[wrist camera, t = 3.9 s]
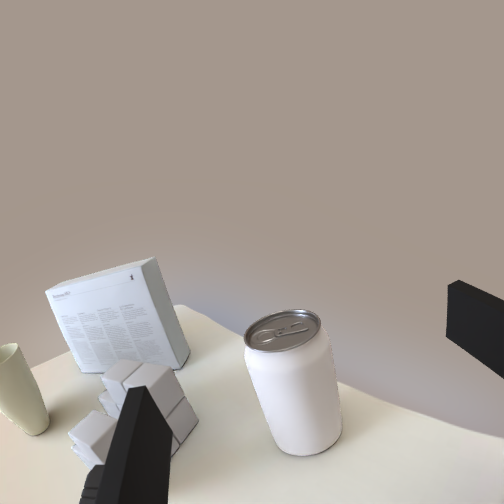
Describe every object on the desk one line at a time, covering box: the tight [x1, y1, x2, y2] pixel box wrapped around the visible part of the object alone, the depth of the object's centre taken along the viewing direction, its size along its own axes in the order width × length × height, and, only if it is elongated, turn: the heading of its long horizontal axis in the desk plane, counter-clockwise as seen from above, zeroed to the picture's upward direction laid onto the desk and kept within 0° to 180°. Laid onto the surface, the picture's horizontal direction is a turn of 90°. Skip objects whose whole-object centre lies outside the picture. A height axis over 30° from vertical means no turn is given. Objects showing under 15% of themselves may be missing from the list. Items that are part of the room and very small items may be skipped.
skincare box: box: [45, 257, 190, 373], centre depth 42 cm, size 21×5×16 cm, turn 83°
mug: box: [0, 343, 50, 436], centre depth 29 cm, size 11×10×12 cm
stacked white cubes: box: [68, 359, 198, 470], centre depth 25 cm, size 12×12×8 cm
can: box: [244, 309, 342, 456], centre depth 22 cm, size 6×6×12 cm
